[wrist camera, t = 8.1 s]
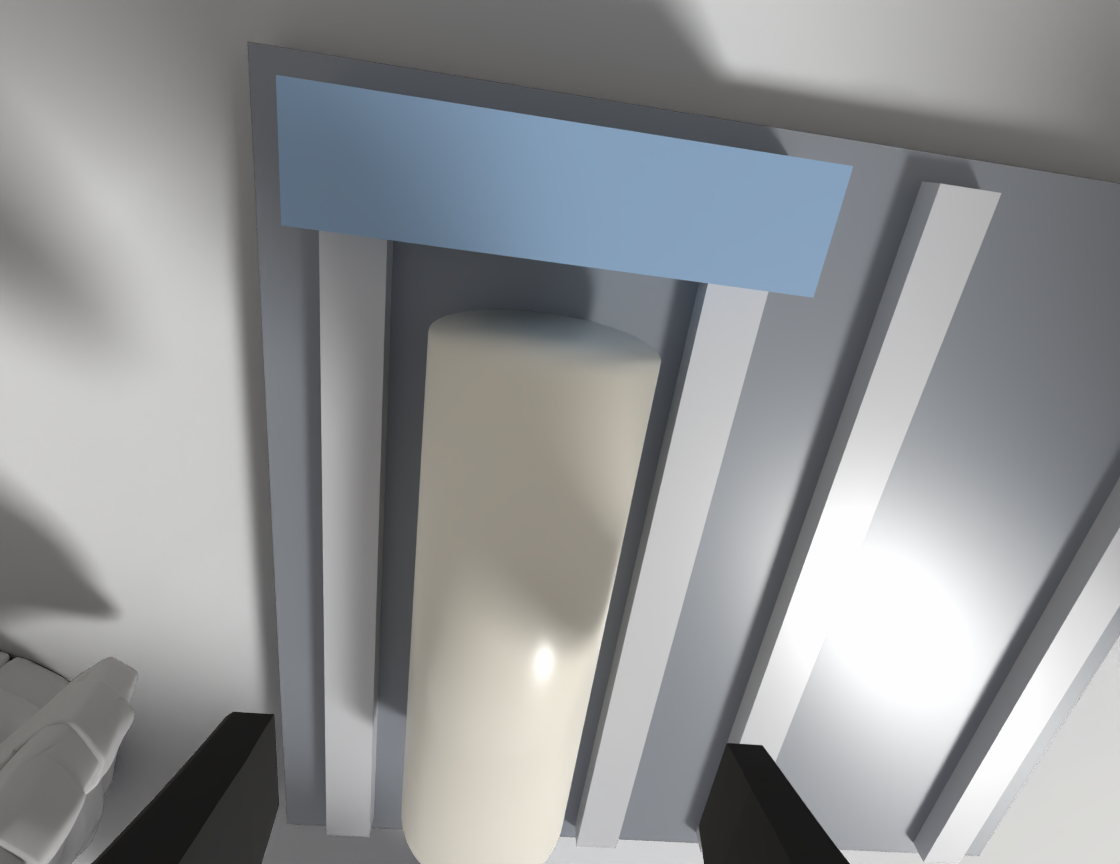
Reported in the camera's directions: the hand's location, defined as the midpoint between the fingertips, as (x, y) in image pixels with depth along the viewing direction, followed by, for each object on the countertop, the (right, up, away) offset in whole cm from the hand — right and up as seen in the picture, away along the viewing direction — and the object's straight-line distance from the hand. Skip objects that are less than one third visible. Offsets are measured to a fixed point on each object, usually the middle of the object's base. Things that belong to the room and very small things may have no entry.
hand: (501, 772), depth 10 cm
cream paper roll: (0, +2, +5) cm, 6 cm away
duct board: (+5, +2, +6) cm, 9 cm away
